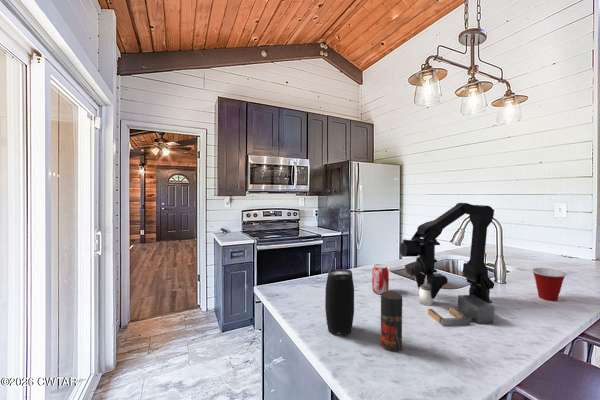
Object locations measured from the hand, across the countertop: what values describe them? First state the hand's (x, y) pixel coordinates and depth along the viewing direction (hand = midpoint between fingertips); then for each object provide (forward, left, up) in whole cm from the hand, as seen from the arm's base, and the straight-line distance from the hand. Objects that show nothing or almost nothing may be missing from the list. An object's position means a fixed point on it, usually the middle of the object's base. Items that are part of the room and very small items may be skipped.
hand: (426, 294), depth 109 cm
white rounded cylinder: (0, 0, -4) cm, 4 cm away
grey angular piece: (-5, +12, -4) cm, 13 cm away
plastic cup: (-54, 0, -4) cm, 54 cm away
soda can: (+14, -13, -4) cm, 20 cm away
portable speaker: (+40, +18, -4) cm, 44 cm away
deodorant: (+27, +28, -4) cm, 39 cm away
